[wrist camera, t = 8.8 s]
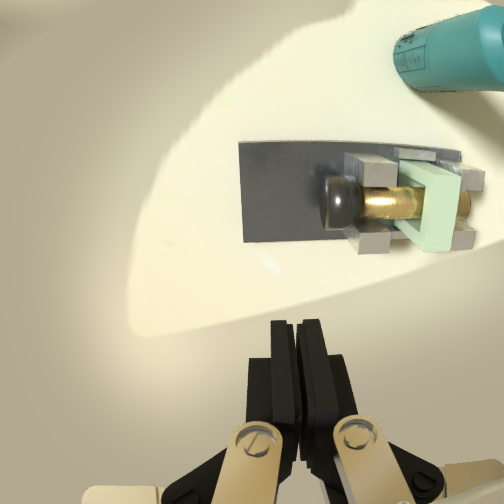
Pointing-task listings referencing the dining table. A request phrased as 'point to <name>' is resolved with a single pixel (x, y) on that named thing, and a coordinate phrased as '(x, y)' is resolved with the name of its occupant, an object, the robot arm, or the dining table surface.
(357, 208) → the shaft
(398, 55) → the beverage bottle
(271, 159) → the rig
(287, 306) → the dining table surface
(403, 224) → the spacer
